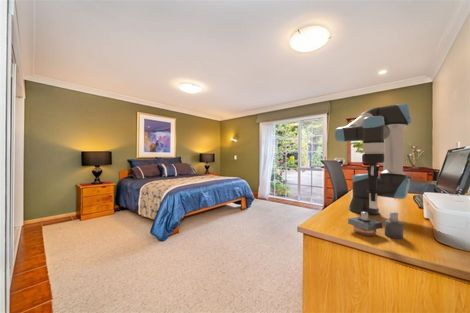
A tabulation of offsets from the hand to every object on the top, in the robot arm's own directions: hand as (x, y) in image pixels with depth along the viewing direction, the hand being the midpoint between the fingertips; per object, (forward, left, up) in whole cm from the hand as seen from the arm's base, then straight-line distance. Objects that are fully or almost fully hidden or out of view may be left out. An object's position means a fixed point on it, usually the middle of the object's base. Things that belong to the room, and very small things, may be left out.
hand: (373, 208), depth 82 cm
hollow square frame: (0, -3, -9) cm, 9 cm away
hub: (+1, -3, -12) cm, 12 cm away
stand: (-7, +4, -12) cm, 14 cm away
